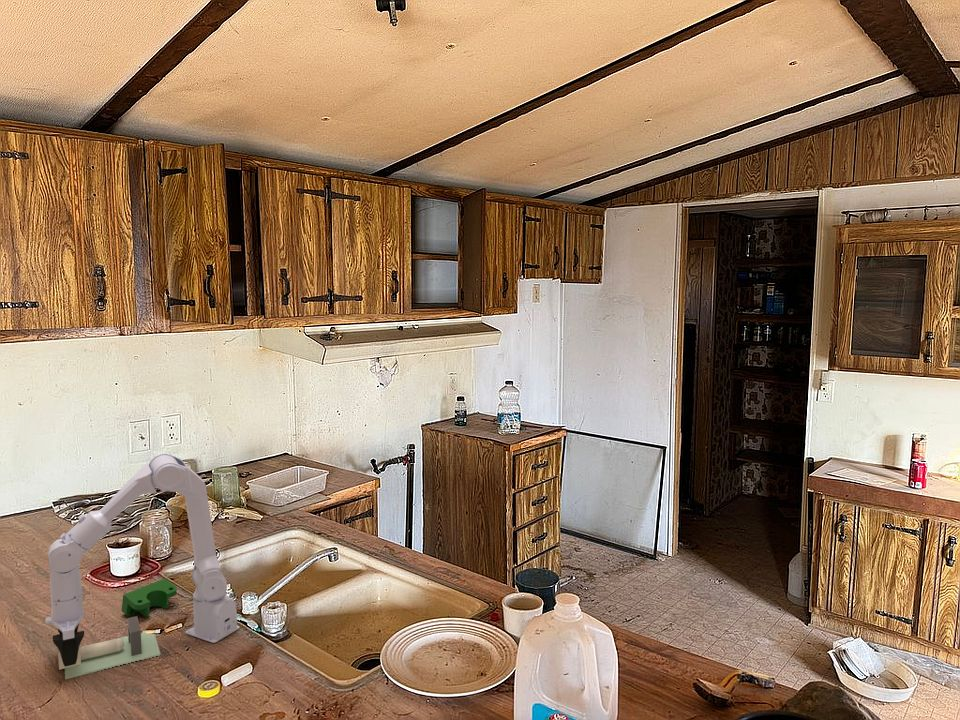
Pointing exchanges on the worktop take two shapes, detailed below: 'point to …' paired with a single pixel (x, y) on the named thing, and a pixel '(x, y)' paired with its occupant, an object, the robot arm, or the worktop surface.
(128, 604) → the clamp
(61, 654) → the robot arm
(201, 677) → the worktop surface
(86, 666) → the mat
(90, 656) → the cream mallet
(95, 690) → the worktop surface
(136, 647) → the loop
